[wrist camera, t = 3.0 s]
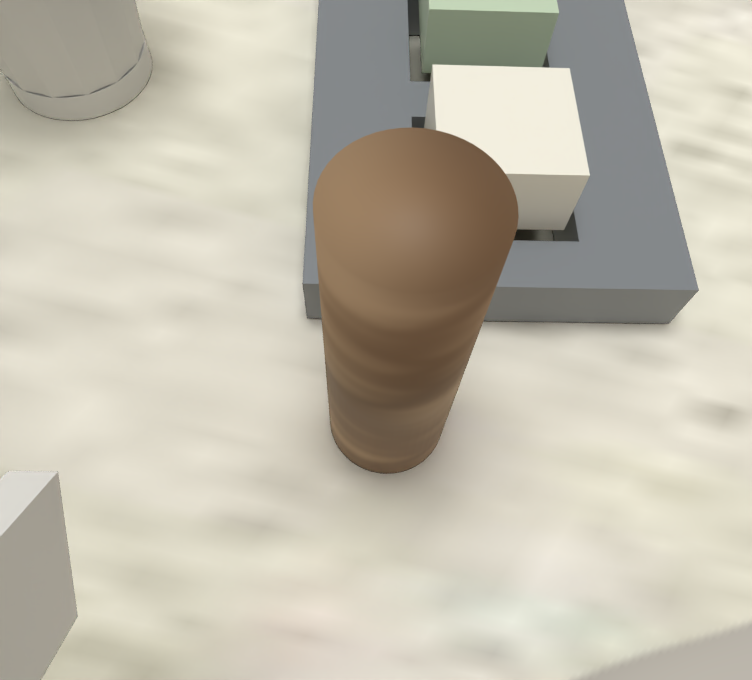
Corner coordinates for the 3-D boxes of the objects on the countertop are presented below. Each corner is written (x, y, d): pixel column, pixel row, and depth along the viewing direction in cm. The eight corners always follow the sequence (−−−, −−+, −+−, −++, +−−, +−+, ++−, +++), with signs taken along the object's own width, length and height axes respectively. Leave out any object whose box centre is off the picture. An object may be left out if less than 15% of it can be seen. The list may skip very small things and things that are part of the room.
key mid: (421, 72, 28) (429, 9, 25) (418, -5, 30) (424, -71, 28) (539, 75, 28) (559, 13, 25) (527, -2, 30) (543, -67, 28)
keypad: (307, 318, 25) (302, 283, 23) (328, -90, 37) (326, -139, 35) (668, 323, 26) (698, 290, 23) (575, -82, 37) (590, -129, 35)
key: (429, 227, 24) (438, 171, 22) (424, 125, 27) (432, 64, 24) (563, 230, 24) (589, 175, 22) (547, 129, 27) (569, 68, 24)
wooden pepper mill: (328, 472, 23) (308, 291, 12) (331, 366, 24) (317, 125, 14) (445, 473, 23) (529, 294, 12) (439, 367, 25) (509, 129, 14)
